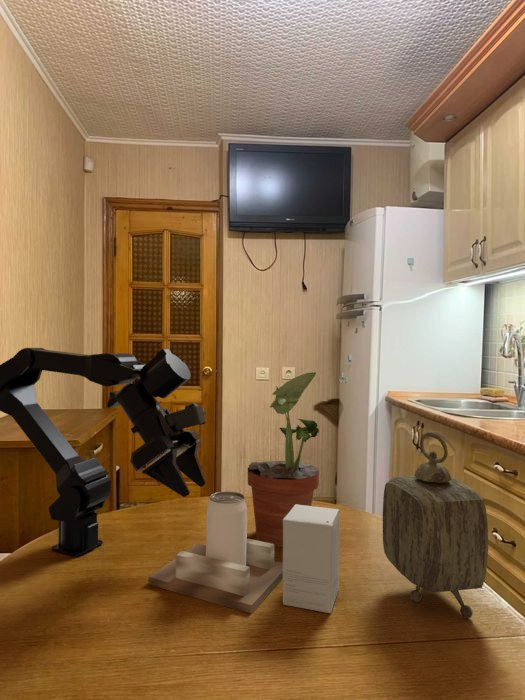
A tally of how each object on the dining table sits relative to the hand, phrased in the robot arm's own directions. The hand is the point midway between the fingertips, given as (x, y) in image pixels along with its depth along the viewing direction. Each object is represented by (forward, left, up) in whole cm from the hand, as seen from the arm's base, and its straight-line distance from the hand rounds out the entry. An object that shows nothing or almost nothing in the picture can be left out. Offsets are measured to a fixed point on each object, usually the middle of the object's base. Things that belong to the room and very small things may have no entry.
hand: (195, 490), depth 80 cm
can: (+6, -1, -12) cm, 14 cm away
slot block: (+6, -1, -13) cm, 14 cm away
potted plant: (+8, +20, -13) cm, 25 cm away
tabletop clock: (+36, +7, -13) cm, 40 cm away
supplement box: (+21, 0, -13) cm, 25 cm away
